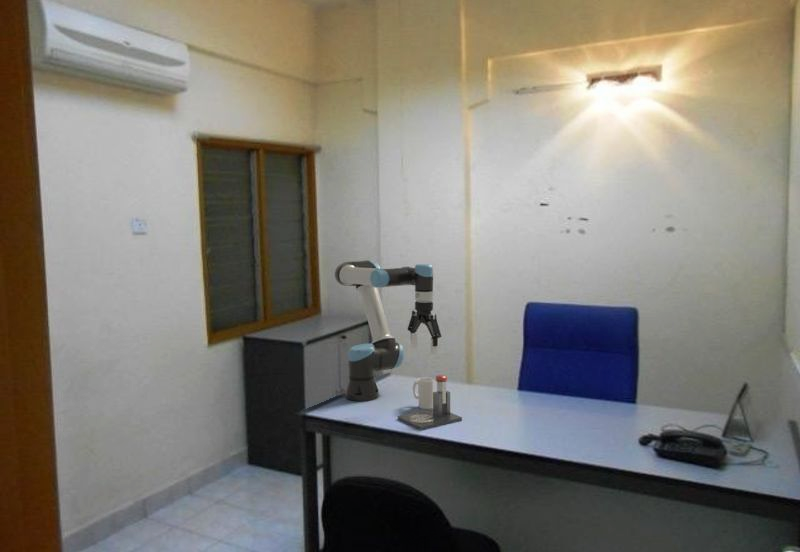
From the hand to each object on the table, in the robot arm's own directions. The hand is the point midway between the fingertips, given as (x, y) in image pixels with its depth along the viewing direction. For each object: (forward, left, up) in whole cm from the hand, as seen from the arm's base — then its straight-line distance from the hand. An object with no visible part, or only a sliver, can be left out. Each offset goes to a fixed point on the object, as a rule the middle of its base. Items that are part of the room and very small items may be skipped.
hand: (423, 350), depth 255 cm
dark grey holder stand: (+15, -8, -24) cm, 30 cm away
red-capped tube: (+15, -2, -18) cm, 24 cm away
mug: (-1, 0, -25) cm, 25 cm away
